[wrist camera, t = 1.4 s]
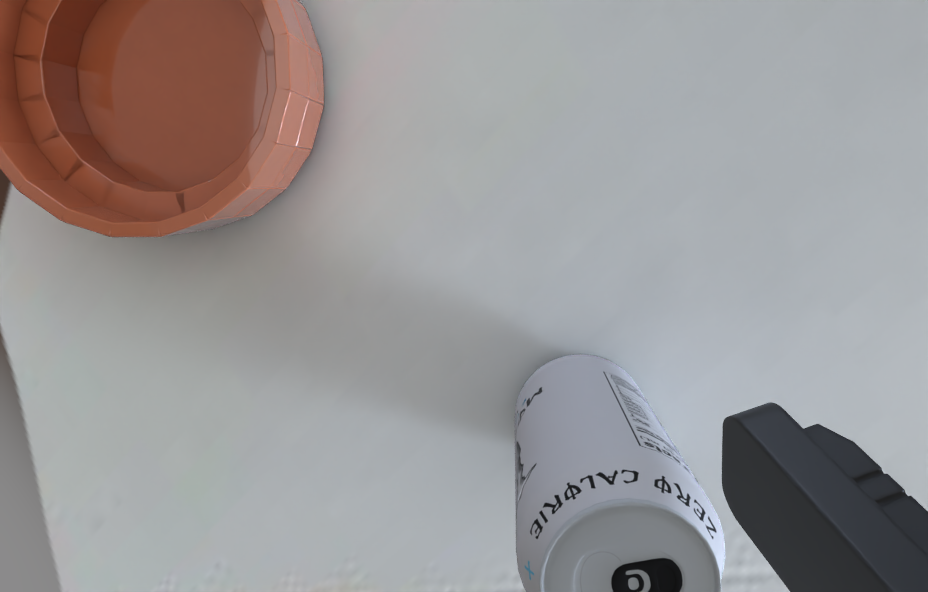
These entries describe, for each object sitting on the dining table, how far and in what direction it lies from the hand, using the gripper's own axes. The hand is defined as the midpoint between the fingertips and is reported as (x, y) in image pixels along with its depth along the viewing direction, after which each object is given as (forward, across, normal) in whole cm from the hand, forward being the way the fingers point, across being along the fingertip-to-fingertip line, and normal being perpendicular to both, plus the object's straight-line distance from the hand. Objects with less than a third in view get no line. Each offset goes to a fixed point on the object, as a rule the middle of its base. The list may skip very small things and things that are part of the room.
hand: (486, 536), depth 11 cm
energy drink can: (+17, -7, +15) cm, 24 cm away
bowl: (+28, +6, -2) cm, 29 cm away
